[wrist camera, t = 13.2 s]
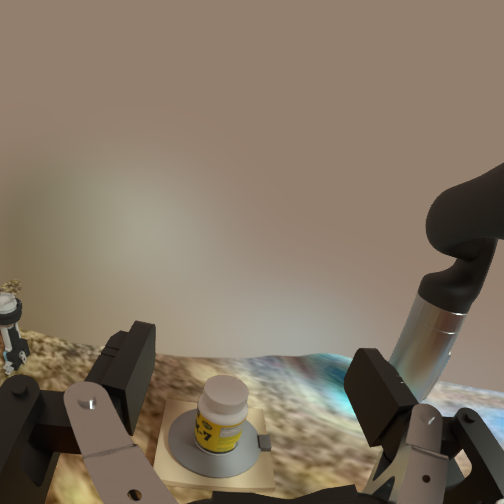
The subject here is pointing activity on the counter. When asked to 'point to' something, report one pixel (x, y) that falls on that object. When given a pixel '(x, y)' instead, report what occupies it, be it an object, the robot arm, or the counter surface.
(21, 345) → the push button
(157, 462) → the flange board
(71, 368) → the counter surface
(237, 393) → the supplement bottle
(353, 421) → the counter surface
